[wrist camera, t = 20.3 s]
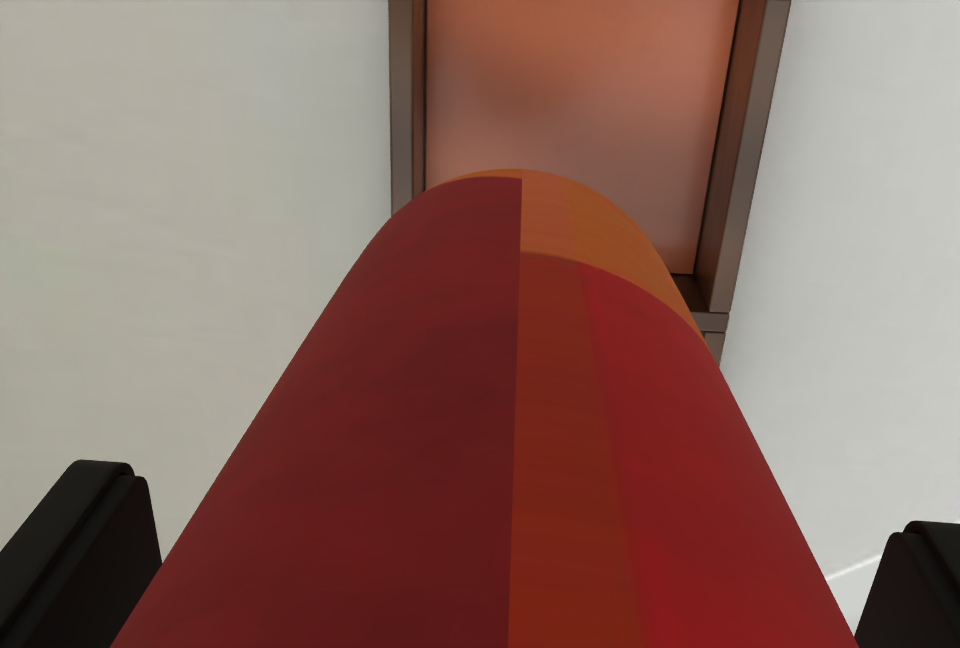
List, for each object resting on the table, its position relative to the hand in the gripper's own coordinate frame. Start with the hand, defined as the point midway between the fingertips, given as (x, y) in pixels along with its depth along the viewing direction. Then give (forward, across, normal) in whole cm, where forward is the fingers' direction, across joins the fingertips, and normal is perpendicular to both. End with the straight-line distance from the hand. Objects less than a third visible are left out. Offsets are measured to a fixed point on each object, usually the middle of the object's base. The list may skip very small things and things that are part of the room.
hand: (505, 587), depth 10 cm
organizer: (+20, -1, +5) cm, 21 cm away
